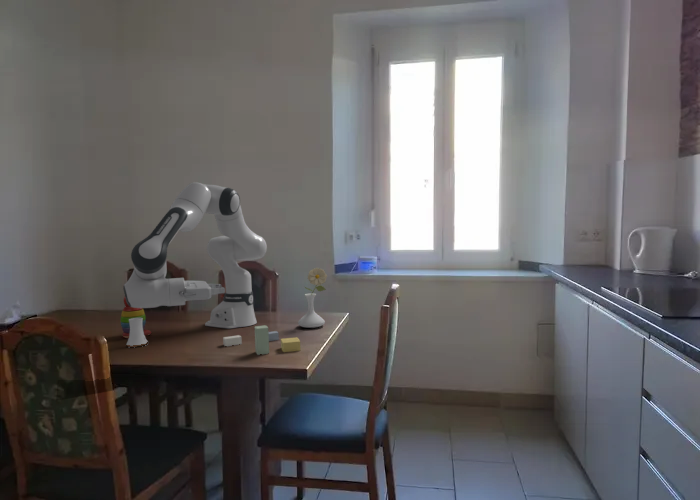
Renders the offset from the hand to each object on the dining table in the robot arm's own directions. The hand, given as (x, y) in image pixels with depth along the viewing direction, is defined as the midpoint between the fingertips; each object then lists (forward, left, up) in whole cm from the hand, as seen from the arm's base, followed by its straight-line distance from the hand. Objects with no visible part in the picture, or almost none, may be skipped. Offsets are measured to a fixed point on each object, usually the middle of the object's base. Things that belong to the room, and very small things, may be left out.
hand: (223, 288), depth 163 cm
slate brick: (+4, +24, -24) cm, 34 cm away
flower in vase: (+11, +48, -24) cm, 55 cm away
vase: (-43, +6, -24) cm, 49 cm away
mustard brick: (+17, +14, -24) cm, 32 cm away
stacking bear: (-55, +18, -24) cm, 62 cm away
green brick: (+9, +8, -23) cm, 26 cm away
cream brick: (-7, +15, -24) cm, 29 cm away
